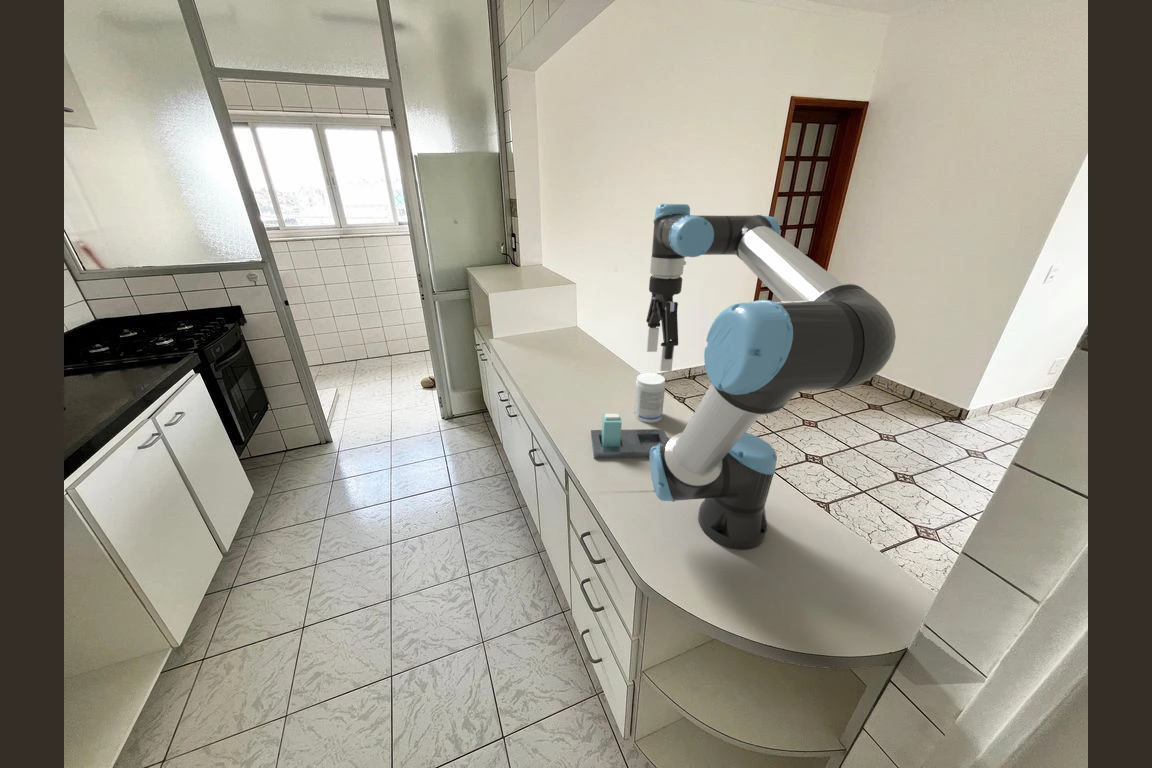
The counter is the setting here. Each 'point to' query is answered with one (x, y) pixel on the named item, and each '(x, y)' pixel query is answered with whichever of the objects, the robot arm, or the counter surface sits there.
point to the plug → (611, 430)
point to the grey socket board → (629, 443)
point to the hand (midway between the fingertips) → (658, 360)
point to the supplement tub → (649, 397)
